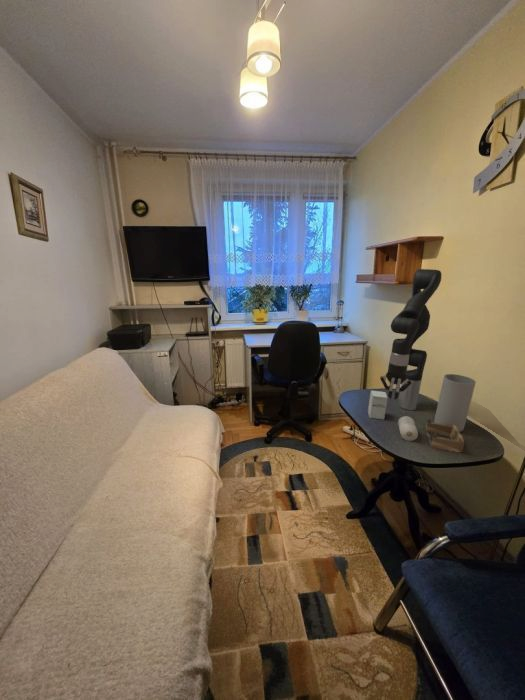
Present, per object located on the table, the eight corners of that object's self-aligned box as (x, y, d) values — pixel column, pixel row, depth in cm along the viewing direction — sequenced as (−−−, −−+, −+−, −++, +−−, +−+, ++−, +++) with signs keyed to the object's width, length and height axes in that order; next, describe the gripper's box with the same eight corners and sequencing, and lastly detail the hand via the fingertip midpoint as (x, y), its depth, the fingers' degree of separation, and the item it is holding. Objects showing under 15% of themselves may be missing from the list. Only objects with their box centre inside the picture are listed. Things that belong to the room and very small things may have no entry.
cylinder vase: (450, 418, 148) (460, 373, 141) (470, 431, 136) (482, 383, 129) (428, 419, 146) (438, 374, 140) (446, 433, 135) (458, 384, 128)
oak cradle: (425, 430, 136) (427, 418, 134) (452, 435, 133) (455, 423, 131) (431, 447, 123) (434, 434, 121) (461, 453, 120) (465, 439, 118)
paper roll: (397, 428, 138) (399, 415, 136) (413, 430, 136) (415, 417, 134) (399, 439, 129) (401, 425, 127) (416, 442, 127) (419, 428, 125)
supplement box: (369, 418, 147) (372, 395, 143) (367, 411, 154) (370, 389, 150) (384, 420, 145) (388, 397, 141) (382, 413, 152) (385, 391, 148)
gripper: (414, 362, 127) (407, 397, 132) (381, 358, 131) (376, 392, 136) (417, 367, 120) (410, 404, 125) (382, 363, 124) (376, 399, 129)
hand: (392, 398), depth 130 cm, fingers closed
